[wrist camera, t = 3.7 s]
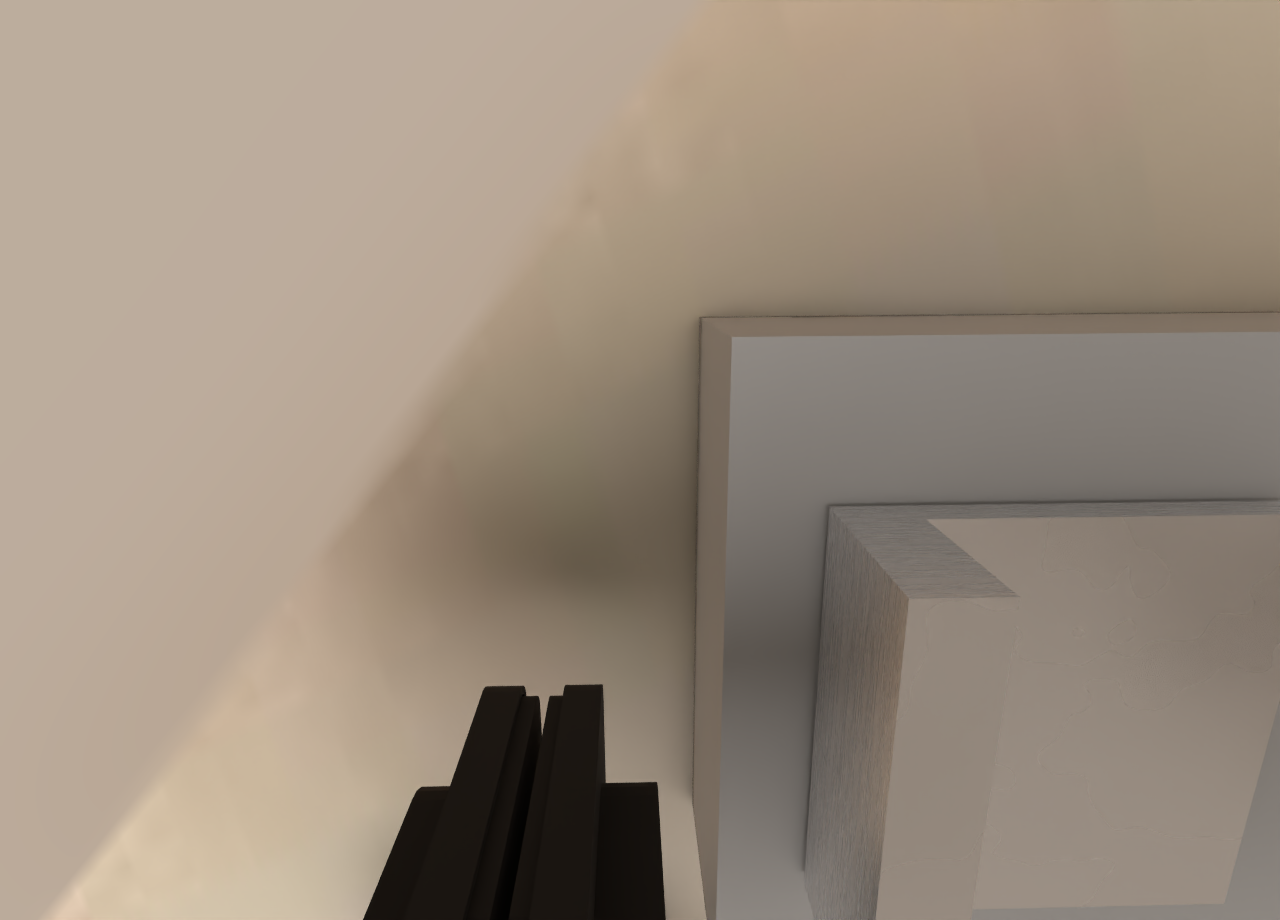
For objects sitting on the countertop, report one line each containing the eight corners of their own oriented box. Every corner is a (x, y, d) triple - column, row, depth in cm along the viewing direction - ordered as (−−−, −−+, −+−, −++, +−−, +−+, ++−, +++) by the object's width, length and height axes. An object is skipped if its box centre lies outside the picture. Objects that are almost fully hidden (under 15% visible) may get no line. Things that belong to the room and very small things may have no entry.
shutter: (1291, 499, 10) (1549, 587, 7) (1195, 873, 12) (1372, 1060, 9) (829, 506, 10) (909, 598, 7) (803, 882, 12) (859, 1074, 9)
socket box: (1463, 310, 14) (1827, 326, 10) (1318, 790, 18) (1546, 961, 13) (699, 316, 14) (732, 337, 10) (692, 803, 17) (714, 981, 13)
